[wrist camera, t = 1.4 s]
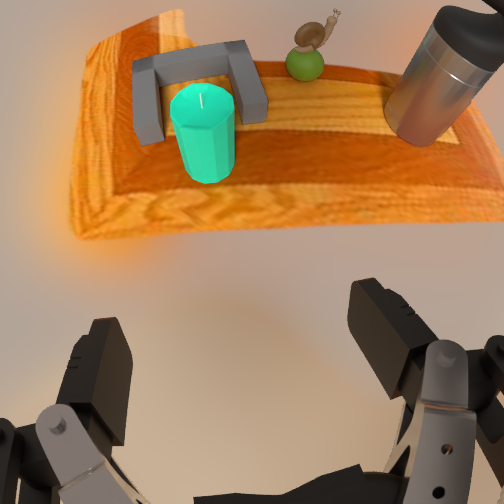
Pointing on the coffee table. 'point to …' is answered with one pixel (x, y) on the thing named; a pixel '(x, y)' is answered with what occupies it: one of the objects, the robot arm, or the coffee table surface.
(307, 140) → the coffee table surface
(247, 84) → the grey u-shaped frame
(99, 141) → the coffee table surface
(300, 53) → the snail figurine
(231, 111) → the candle
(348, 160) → the coffee table surface
